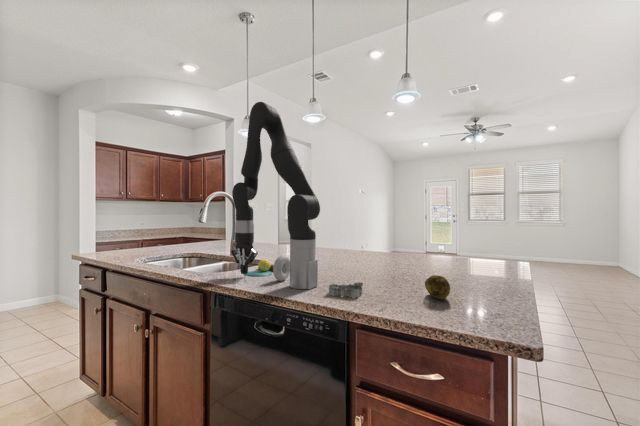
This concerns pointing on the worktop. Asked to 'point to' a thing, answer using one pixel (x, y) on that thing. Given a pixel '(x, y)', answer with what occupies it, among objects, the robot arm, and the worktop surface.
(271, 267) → the stopper strip
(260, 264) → the ball
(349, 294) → the egg carton
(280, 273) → the donut
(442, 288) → the dark green oval lump
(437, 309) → the worktop surface
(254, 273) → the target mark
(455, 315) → the worktop surface
